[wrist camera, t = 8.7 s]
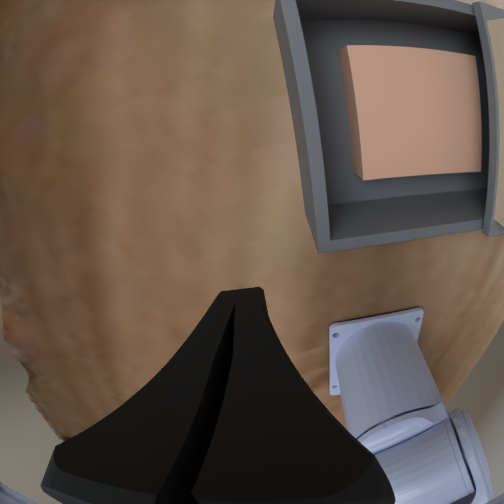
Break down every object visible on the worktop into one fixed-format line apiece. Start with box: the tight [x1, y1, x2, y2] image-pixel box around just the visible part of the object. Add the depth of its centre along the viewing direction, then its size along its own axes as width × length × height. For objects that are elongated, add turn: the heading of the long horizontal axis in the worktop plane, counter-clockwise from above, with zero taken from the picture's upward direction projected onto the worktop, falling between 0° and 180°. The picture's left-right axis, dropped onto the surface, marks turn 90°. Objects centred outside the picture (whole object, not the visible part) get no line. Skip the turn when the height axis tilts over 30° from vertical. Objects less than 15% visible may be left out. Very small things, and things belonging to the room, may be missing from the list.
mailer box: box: [273, 0, 490, 254], centre depth 13 cm, size 12×14×5 cm
